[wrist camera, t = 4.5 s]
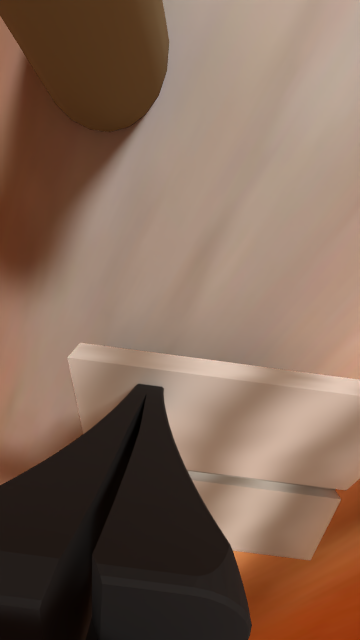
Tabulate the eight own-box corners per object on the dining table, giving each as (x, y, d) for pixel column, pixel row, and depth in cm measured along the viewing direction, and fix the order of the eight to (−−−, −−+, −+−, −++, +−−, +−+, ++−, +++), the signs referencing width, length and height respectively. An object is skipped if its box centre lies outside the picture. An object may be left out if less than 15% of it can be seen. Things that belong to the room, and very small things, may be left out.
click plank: (417, 387, 10) (443, 406, 9) (335, 470, 15) (346, 490, 14) (80, 342, 10) (67, 357, 9) (95, 439, 14) (87, 456, 13)
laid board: (331, 475, 15) (344, 493, 14) (301, 540, 17) (310, 560, 16) (95, 444, 15) (88, 460, 14) (94, 513, 17) (88, 531, 16)
